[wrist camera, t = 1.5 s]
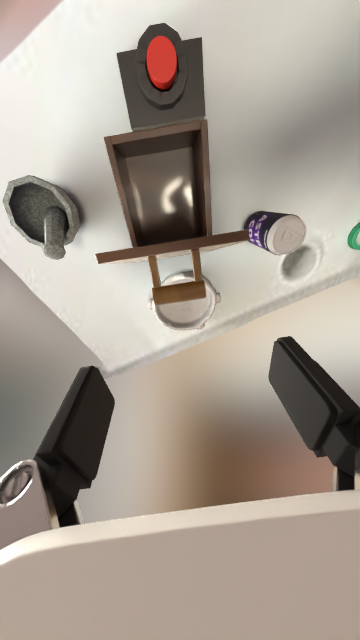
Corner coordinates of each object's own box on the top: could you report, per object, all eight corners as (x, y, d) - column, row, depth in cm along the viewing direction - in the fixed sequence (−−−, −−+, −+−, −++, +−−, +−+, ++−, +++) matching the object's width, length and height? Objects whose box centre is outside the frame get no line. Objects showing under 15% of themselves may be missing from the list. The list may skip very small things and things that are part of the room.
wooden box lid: (94, 253, 15) (111, 316, 17) (249, 229, 15) (251, 295, 17) (134, 257, 30) (141, 290, 32) (213, 244, 30) (216, 279, 31)
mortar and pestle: (19, 202, 33) (-45, 202, 23) (56, 166, 31) (2, 150, 21) (71, 257, 39) (37, 277, 28) (105, 230, 36) (81, 241, 26)
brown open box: (119, 153, 30) (103, 137, 23) (196, 140, 30) (207, 118, 22) (142, 247, 38) (135, 259, 30) (203, 237, 38) (212, 246, 30)
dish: (143, 303, 45) (141, 314, 41) (178, 255, 40) (179, 261, 35) (190, 331, 50) (192, 343, 46) (226, 292, 45) (233, 301, 41)
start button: (173, 43, 23) (174, 32, 22) (178, 87, 25) (178, 80, 23) (145, 48, 23) (143, 38, 22) (151, 92, 25) (150, 85, 24)
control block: (199, 37, 25) (203, 14, 22) (203, 119, 29) (207, 110, 26) (117, 52, 25) (110, 32, 22) (133, 132, 29) (129, 124, 26)
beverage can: (250, 207, 36) (283, 209, 25) (276, 216, 37) (317, 221, 26) (237, 238, 38) (262, 251, 28) (262, 245, 39) (294, 261, 29)
